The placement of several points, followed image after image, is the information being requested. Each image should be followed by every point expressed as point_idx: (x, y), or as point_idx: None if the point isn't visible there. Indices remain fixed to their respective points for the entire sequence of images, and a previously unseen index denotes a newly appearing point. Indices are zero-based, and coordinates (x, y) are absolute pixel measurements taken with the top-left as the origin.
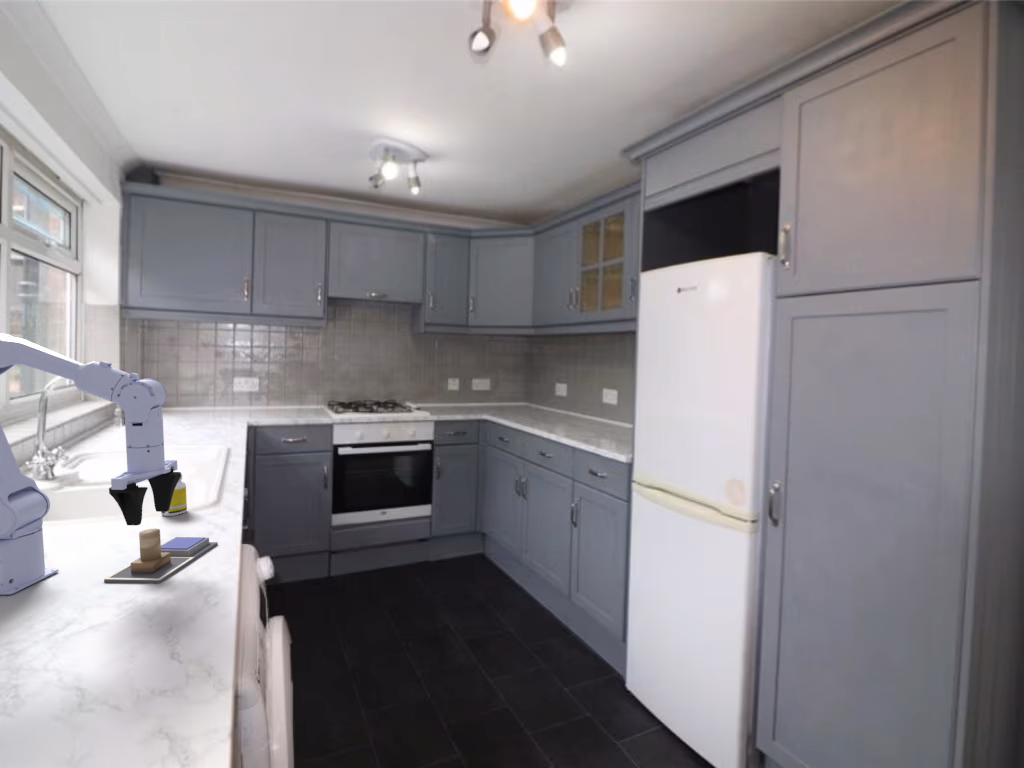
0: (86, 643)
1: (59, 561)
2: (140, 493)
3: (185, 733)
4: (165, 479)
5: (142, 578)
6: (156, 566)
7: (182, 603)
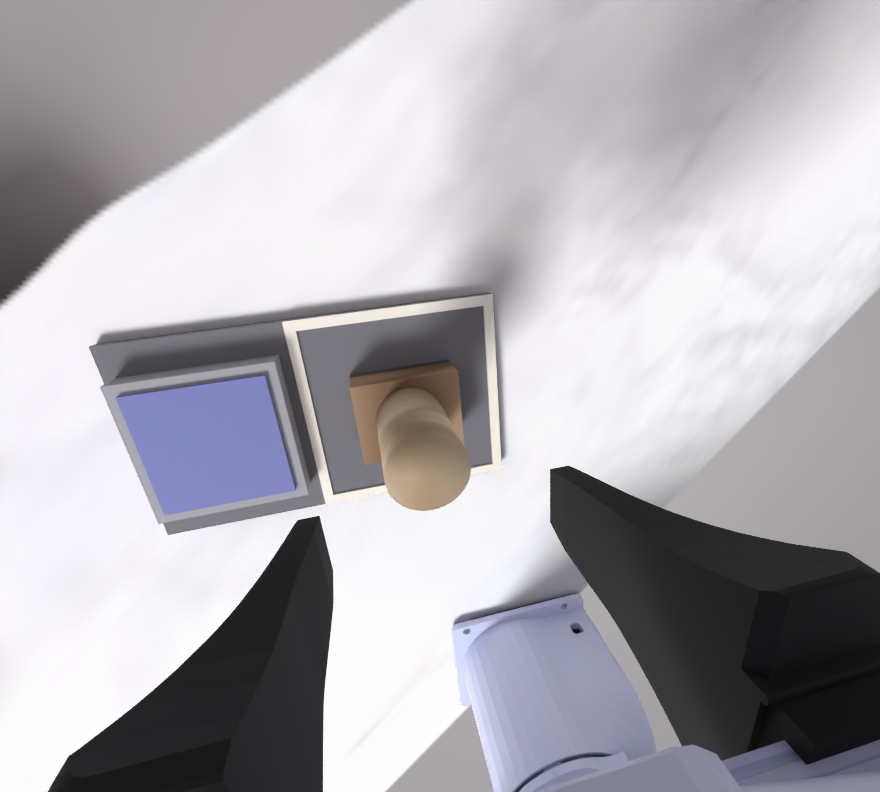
0: (814, 204)
1: (391, 680)
2: (803, 557)
3: None
4: (274, 784)
5: (488, 360)
6: (430, 368)
7: (627, 79)
